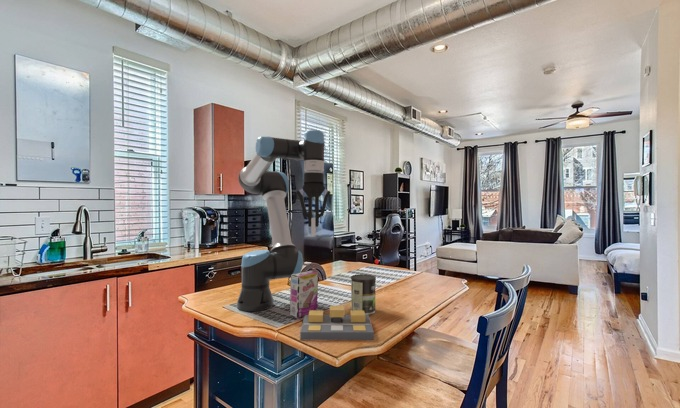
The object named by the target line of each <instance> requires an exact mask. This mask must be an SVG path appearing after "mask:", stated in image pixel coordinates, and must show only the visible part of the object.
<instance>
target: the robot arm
mask: <svg viewBox="0 0 680 408" xmlns="http://www.w3.org/2000/svg"><path fill="white" fill-rule="evenodd" d="M276 159H289V160H294V161H296V162H303V172H304V173H303V185H302V188H301V189H299V190H297V191H296V194H297V196H298V199H299V202H300V206H301V210H302V215H303V217H305V218H307V219H308V221H307V223H308V224H307V225H308V227H309V228H310V229H311V231H310V236H311V237H316V235H317V233H316V232H317V230H316V227H317V228H318V227H319V225H320V224H319V220H320V218H321V217H324V214H325V210H326V206H327V202H328V198H329V196H330V195H331V191H330V190H328V189H326V187H325V174H324V171H325V133H324V132H323V131H321V130H317V129H316V130H315V129H314V130H313V129H311V130H305V131H304V135H303V140H299V139H288V138H280V137H272V136H269V135H268V136H259V137H257V139H256V142H255V154H254V155H253V157H252V158H251V160H250V161H249V163H248V164H247V165H246V166H245V167H243V168H242V169H241V170H240V171H239V173H238V178H237V179H238V182H239V186H240V187H241V188H242V189H243V190H244V191H245V192H247V193H249V194H253V195H262V196H261V197H262V199H263V201H265V202H266V207H267V212H268V215H267V216H268V220H269V227H270V232H271V233H270V234H271V240H272V248H271V249H270V250H269V249H261V250H260V249H257V250H252V251H248V252H247V253H244V254H243V255H242V258H241V265H240V266H241V267H240V268H241V289H240V292H239V296H238V298H237V302H236V308H237V310H240V311H243V312H258V311H264V310H268V309H271V308H272V307H273V305H274V297H273V294H272V292H271V291H272V290H271V288H270V281H272V280H280V279H287V278H288V279H291V275H292V274H297V273H302V269H303V265H304V258H303V253H302V252H301V250H298V249H297V246H296V245H295V244H294V243H293V242H292V238H291V237H292V236H291V231H290V226H289V221H288V213H287V208H286V203H285V198H286V197H287V194H288V193H289V190H290V187H289V186H290V182H289V178H288V176H287V175H286V174H285V172H282V171H275V170H274V171H271V170H270V171H269V170H268V169H269V168H270V167H271V165H272V164H273V163H274V162H275V161H276ZM323 193H324V194H323ZM304 194H305V195H306V196H307V197H308V198H307V199H308V207H307V208H308V209H307V208H306V203H305V198H304V196H303V195H304ZM321 195H324V197H323V202H322V205H321V206H322V207H321V210H320V198H321ZM313 198H314V199H315V200H314V203H315V204H314V206H315V207H314V208H315V209H314V210H315V212H314V213H315V214H314V215H315V216H314V217H313Z"/></svg>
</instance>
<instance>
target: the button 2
mask: <svg viewBox="0 0 680 408" xmlns="http://www.w3.org/2000/svg"><path fill="white" fill-rule="evenodd" d="M329 315H330V317H333V322H341V317H344V315H345V305H330V306H329Z"/></svg>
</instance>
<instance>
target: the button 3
mask: <svg viewBox="0 0 680 408" xmlns="http://www.w3.org/2000/svg"><path fill="white" fill-rule="evenodd" d="M349 315H350V318H351V322H365V312H364V310H351V309H350V314H349Z"/></svg>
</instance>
